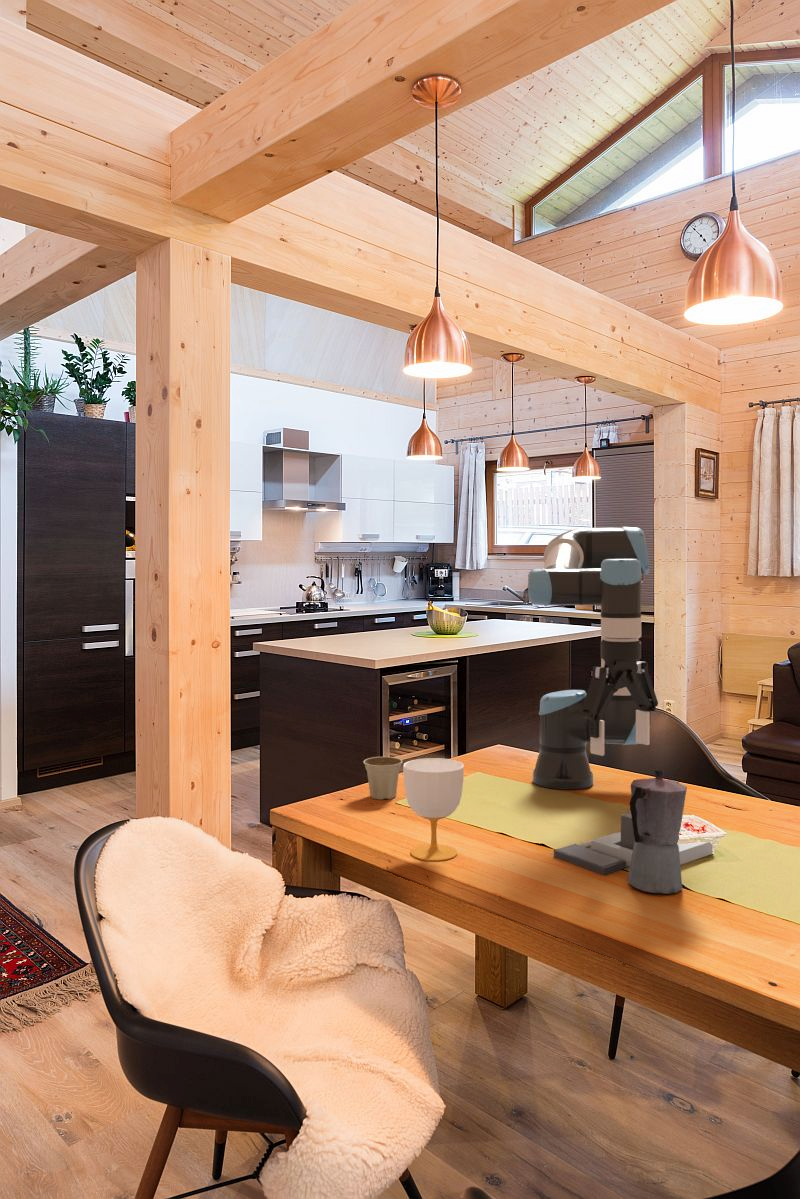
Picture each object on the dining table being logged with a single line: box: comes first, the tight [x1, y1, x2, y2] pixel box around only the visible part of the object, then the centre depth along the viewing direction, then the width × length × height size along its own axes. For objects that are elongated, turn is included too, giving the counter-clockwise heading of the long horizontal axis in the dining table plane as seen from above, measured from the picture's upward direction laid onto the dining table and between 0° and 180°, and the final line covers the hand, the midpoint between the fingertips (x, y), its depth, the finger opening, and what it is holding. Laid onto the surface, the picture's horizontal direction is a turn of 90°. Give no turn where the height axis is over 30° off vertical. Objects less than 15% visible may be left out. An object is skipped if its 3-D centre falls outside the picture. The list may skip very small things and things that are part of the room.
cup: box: [402, 757, 465, 862], centre depth 156 cm, size 12×12×17 cm
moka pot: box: [627, 768, 688, 895], centre depth 139 cm, size 10×15×20 cm, turn 138°
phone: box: [553, 843, 627, 876], centre depth 151 cm, size 6×12×1 cm, turn 36°
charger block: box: [620, 811, 635, 850], centre depth 153 cm, size 4×4×8 cm
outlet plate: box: [590, 831, 713, 868], centre depth 156 cm, size 18×14×3 cm
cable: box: [577, 834, 609, 848], centre depth 161 cm, size 11×1×1 cm, turn 126°
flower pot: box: [363, 756, 403, 801], centre depth 197 cm, size 9×9×9 cm
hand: (620, 749), depth 158 cm, fingers open, 13 cm apart
